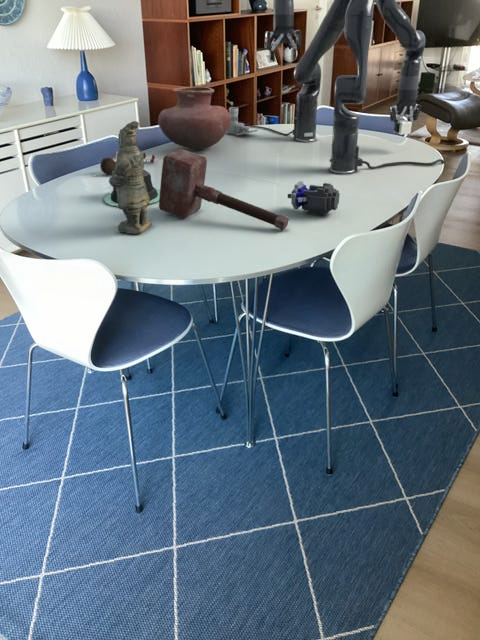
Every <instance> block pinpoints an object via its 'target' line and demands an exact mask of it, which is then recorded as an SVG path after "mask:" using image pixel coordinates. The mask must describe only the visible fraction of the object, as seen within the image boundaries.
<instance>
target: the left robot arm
mask: <svg viewBox="0 0 480 640" xmlns="http://www.w3.org/2000/svg"><path fill="white" fill-rule="evenodd" d="M349 2H350V0H333V2H332V3H331V5H330V6H329V9H328V10H327V12H326V14H325V15H324V17H323V19H322V20H321V23H320V25H319V27H318V29H317V30H316V33H315V34H314V36H313V37H312V40H311V41H310V43H309V45H308V47H307V49H306V50H305V52H304V53H303V54H302V56H301V57H300V59H299V61H298V62H297V64H296V65H295V67H294V70H293V79H294V81H295V83H297V84H298V85H302V87H301V89H300V90H299V91H298V92H297V94H296V110H295V111H296V113H295V117H294V118H293V119H294V120H293V129H292V130H291V131H289V132H288V133H283V132H280V131H277V130H274V129H273V128H269V127H265V126H259V125H252V124H246V123H244V126H246V127H249V128H257V129H263V130H268V131H271V132H273V133H275V134H279V135H282V136H290V135H291V134H292V136H293V141H297V142H302V143H310V142H314V141H316V140H317V119H318V118H317V117H318V98H319V95H320V91H321V81H322V68H321V65H320V63H319V62H320V60H321V59H322V57H323V56H324V55H326V53H327V52H328V51H329V50H330V49H332V47H333V46H334V45H335V44H336V43H337V42H338V40H339V39H340V37H341V36H342V34H343V33H344V26H345V15H346V10H347V7H348V4H349ZM374 4H376V7H377V9H378V12H379V13H380V15H381V18H382V19H383V21H384V22H385V23H386V25H387V26H388V27H389V28H390V30H391V31H392V32H393V33H394V35H395V37H396V39H397V40H398V42H399V44H400V46H401V47H402V48H403V49H404V50H405V55H404V58H403V60H402V62H401V67H400V68H401V69H400V74H399V78H398V79H399V80H398V86H397V94H396V103H395V105H393V106H389V107H388V109H389V116H390V117H389V119H390V122H392V123H394V126H393V132H394V131H395V132H394V133H395V134H397V133H399V128H400V124H399V123H400V121H401V120H403V118H404V116H405V117H406V120H407V121H410V122H412V123H413V122H415V121H417V120H418V118H419V115H420V112H421V109H422V107H423V106H422V105H421V104H417V103H416V101H417V98H418V90H419V83H420V69H421V63H422V59H423V55H424V51H425V47H426V35H425V34H424V32H423V31H422V30H418V29H417V30H416V29H415V28H414V27H413V24H412V23H411V19H410V17H409V16H408V14H406V13H407V12H405V11H404V9H403V8H402V7H401V6H400V5H399V3H398V2H397V1H396V0H374ZM239 123H243V121H239ZM412 128H413V125H412V126H411V130H412Z"/></svg>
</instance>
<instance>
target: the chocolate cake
mask: <svg viewBox="0 0 480 640" xmlns="http://www.w3.org/2000/svg"><path fill="white" fill-rule="evenodd" d="M113 175H114V172H113V173H112V175H111V176H113ZM143 178H144V182H145V184H146V188H147V192H148V195H149V197H150V204H154V203H157V202H159V198H160V188H156V187H154V185H153V182H152V174H151V172H149V171H148V170H146V169H144V168H143ZM103 200H104V202H105V203H106V204H108V205H109V206H115V207H118V202H117V192H116V189H115V188H114V187H112V191H111V193H108V194H107V195H106V196H104V198H103ZM150 204H149V205H150Z"/></svg>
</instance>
